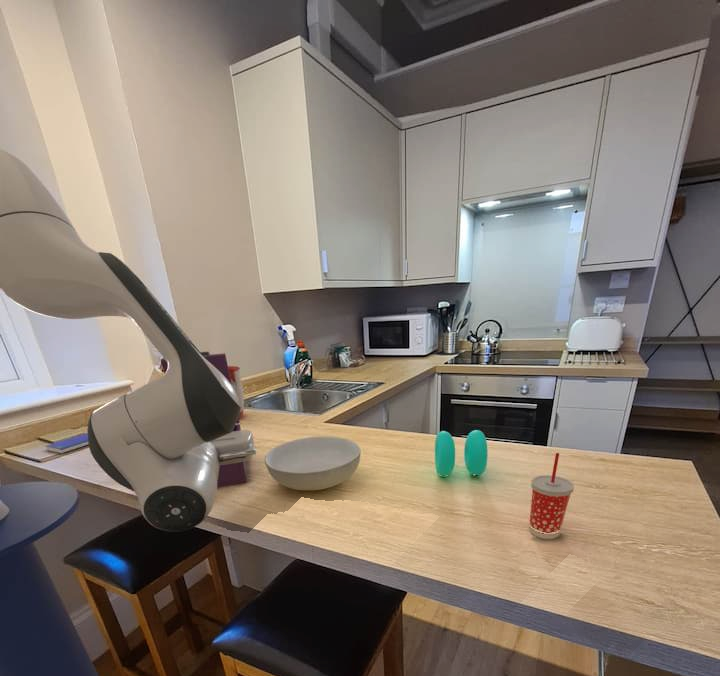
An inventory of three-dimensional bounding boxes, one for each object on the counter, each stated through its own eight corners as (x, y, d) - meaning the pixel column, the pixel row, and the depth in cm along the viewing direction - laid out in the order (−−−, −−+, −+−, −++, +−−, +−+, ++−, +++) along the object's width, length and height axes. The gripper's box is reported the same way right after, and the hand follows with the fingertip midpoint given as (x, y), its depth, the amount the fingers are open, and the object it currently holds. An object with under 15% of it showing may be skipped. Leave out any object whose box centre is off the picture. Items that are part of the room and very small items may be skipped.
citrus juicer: (216, 429, 129) (202, 366, 120) (195, 419, 140) (182, 362, 132) (258, 418, 138) (248, 359, 129) (236, 410, 150) (225, 355, 141)
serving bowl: (265, 471, 95) (260, 444, 92) (347, 457, 100) (346, 431, 97) (274, 510, 77) (269, 478, 74) (375, 491, 82) (373, 460, 79)
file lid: (225, 354, 88) (224, 344, 92) (160, 360, 85) (162, 349, 89) (239, 423, 101) (238, 411, 105) (183, 430, 98) (184, 417, 102)
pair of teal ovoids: (486, 483, 82) (490, 439, 78) (438, 484, 83) (440, 440, 79) (476, 465, 91) (480, 423, 87) (433, 466, 92) (434, 425, 88)
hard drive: (60, 448, 114) (102, 435, 124) (45, 445, 117) (86, 432, 127) (62, 453, 114) (103, 440, 124) (47, 450, 118) (88, 437, 128)
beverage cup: (537, 518, 69) (549, 443, 63) (571, 532, 65) (588, 453, 59) (516, 530, 66) (527, 453, 60) (551, 546, 62) (566, 464, 56)
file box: (247, 482, 90) (239, 446, 86) (183, 492, 86) (173, 455, 83) (245, 455, 105) (239, 424, 101) (192, 463, 102) (184, 431, 98)
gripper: (253, 435, 62) (251, 414, 75) (112, 455, 58) (134, 428, 70) (260, 471, 65) (256, 445, 77) (126, 493, 61) (144, 461, 73)
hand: (197, 437), depth 74 cm, fingers closed
